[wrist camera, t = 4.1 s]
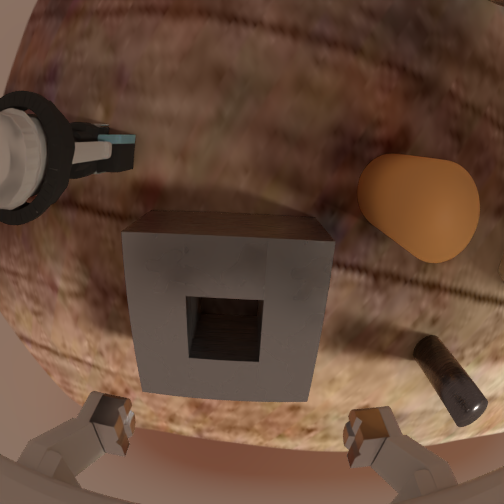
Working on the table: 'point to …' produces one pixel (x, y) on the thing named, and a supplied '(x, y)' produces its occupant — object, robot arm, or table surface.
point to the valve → (501, 269)
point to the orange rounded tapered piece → (420, 204)
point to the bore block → (233, 287)
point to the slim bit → (450, 381)
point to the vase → (498, 2)
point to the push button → (49, 154)
